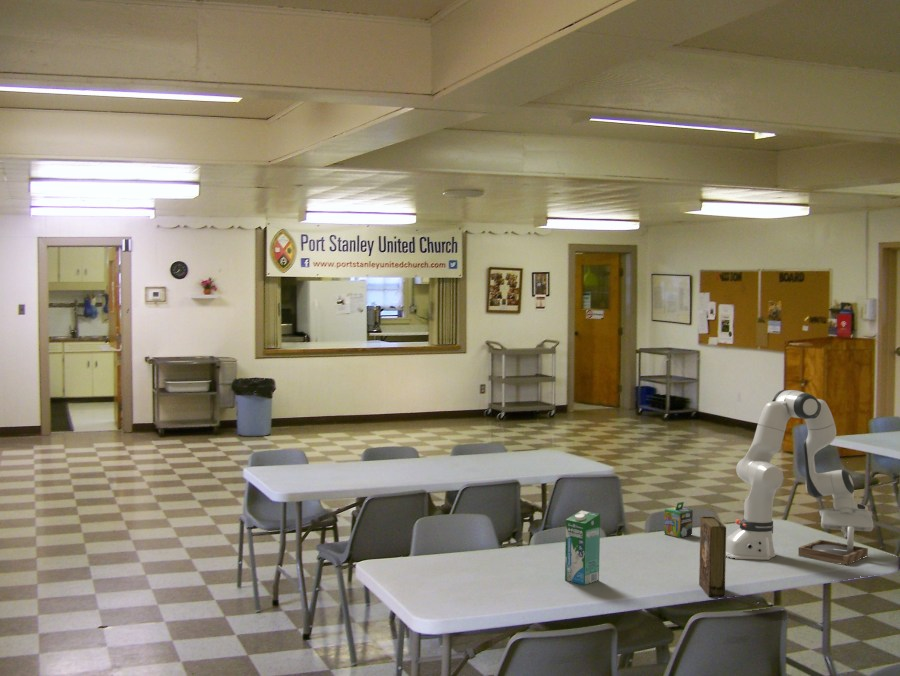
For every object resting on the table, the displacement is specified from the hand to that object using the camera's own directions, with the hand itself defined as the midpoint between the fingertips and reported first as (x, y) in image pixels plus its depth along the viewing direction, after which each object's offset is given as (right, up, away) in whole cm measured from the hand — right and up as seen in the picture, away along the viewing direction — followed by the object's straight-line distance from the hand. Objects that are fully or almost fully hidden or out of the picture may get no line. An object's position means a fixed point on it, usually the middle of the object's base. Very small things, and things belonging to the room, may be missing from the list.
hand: (848, 537), depth 404 cm
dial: (-7, -6, -1) cm, 9 cm away
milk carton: (-115, -8, -41) cm, 122 cm away
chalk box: (-62, -6, +34) cm, 71 cm away
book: (-70, -9, -52) cm, 88 cm away
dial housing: (-7, -7, -1) cm, 10 cm away
